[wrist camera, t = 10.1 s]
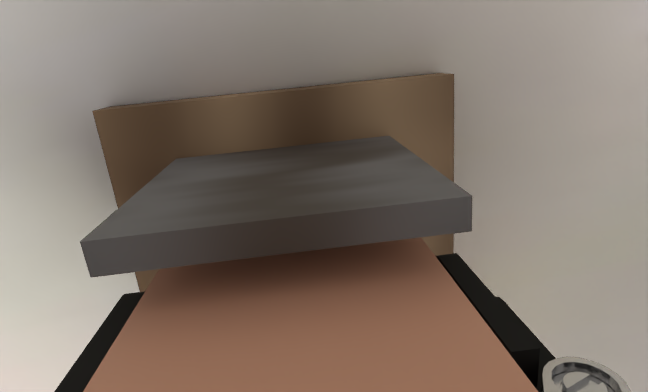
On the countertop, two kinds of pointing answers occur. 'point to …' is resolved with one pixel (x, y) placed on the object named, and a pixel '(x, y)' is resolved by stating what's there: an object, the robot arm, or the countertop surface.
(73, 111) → the countertop surface
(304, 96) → the walnut shelf
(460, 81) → the countertop surface
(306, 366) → the terracotta rectangular block
